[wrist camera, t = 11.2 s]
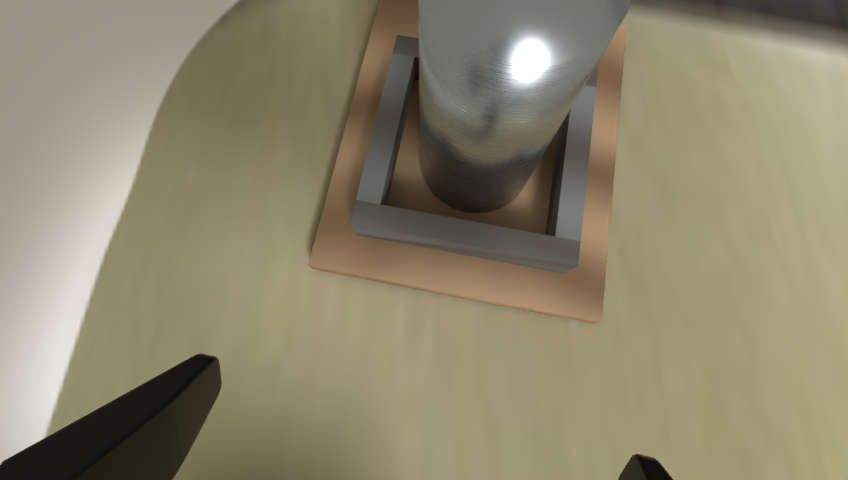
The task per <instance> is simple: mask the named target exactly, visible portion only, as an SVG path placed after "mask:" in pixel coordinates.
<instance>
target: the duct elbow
mask: <svg viewBox="0 0 848 480" xmlns="http://www.w3.org/2000/svg"><path fill="white" fill-rule="evenodd" d="M630 3H631V0H418V23H419V92H420V161H421V171H422V175H423V178H424V180H425V182H426V185H427V186H428V188H429V189H430V191H431V192H432V193H433V194H434V195H435V196H436V197H437V198H438V199H439V200H440V201H442V202H443V203H444V204H446V205H448V206H450V207H451V208H454V209H456V210H459V211H463V212H468V213H486V212H491V211H495V210H498V209H500V208H502V207H504V206H506V205H508V204H509V203H510V202H512V201H513V200H514V199H515V198H516V197H517V196H518V195H519V194H520V193H521V191H522V190H523V188H524V187H525V185H526V183H527V182H528V180H529V178H530V177H531V175H532V173H533V171H534V170H535V168H536V166H537V165H538V163H539V161H540V160H541V158H542V156H543V155H544V153H545V151H546V149H547V148H548V146H549V144H550V143H551V141H552V139H553V138H554V136H555V134H556V133H557V131H558V129H559V128H560V126H561V124H562V122H563V121H564V119H565V117H566V116H567V114H568V112H569V111H570V109H571V107H572V106H573V104H574V102H575V100H576V99H577V97H578V95H579V94H580V92H581V90H582V89H583V87H584V85H585V84H586V82H587V80H588V79H589V77H590V75H591V73H592V72H593V70H594V68H595V67H596V65H597V63H598V62H599V60H600V58H601V57H602V55H603V53H604V52H605V50H606V48H607V46H608V45H609V43H610V41H611V40H612V38H613V36H614V35H615V33H616V31H617V30H618V28H619V26H620V24H621V23H622V21H623V19H624V17H625V15H626V14H627V12H628V9H629V6H630Z"/></svg>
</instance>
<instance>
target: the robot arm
mask: <svg viewBox="0 0 848 480" xmlns="http://www.w3.org/2000/svg"><path fill="white" fill-rule="evenodd" d="M221 384H222V382H221V373H220V364H219V360H218V358H217V357H215V356H210V355H206V354H197V355H195V356H193V357H191V358H189V359H187V360H186V361H184V362H182V363H180V364H178V365H177V366H175V367H173V368H171V369H169V370H167V371H166V372H164V373H162V374H160V375H158V376H157V377H155V378H153V379H151V380H149V381H148V382H146V383H144V384H142V385H140V386H138V387H137V388H135V389H133V390H131V391H129V392H128V393H126V394H124V395H122V396H120V397H119V398H117V399H115V400H113V401H111V402H109V403H108V404H106V405H104V406H102V407H100V408H99V409H97V410H95V411H93V412H91V413H90V414H88V415H86V416H84V417H82V418H81V419H79V420H77V421H75V422H73V423H71V424H70V425H68V426H66V427H64V428H62V429H61V430H59V431H57V432H55V433H53V434H52V435H50V436H48V437H46V438H44V439H42V440H41V441H39V442H37V443H35V444H33V445H32V446H30V447H28V448H26V449H24V450H23V451H21V452H19V453H17V454H15V455H14V456H12V457H10V458H8V459H6V460H5V461H3V462H2V463H1V465H0V480H172V479H173V477H174V476H175V474H176V473H177V471H178V470H179V468H180V466H181V465H182V463H183V462H184V460H185V458H186V456H187V454H188V452H189V451H190V449H191V447H192V445H193V443H194V441H195V439H196V437H197V435H198V433H199V431H200V429H201V428H202V426H203V424H204V422H205V420H206V418H207V416H208V414H209V412H210V410H211V408H212V406H213V404H214V402H215V400H216V399H217V397H218V395H219V392H220V389H221ZM618 480H673V479H672V477H671V476H670V475H669V474H668V472H667V471H666V470H665V469H664V467H663V466H662V465H661V464H660V463H659V462H658V461H657V460H656V459H655V458H652V457H649V456H644V455H640V454H635V455H633V456H632V457H631V458H630V460H629V462H628V463H627V465H626V466H625V468H624V470H623V471H622V473H621V474H620V476H619V479H618Z"/></svg>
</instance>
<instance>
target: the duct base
mask: <svg viewBox="0 0 848 480" xmlns="http://www.w3.org/2000/svg"><path fill="white" fill-rule="evenodd" d="M626 26H627V24H623V23H621V24H620V26H619V28H618V30H617V31H616V33H615V35H614V36H613V38H612V40H611V41H610V43H609V45H608V46H607V48H606V50H605V52H604V53H603V55H602V57H601V58H600V60H599V62H598V63H597V65H596V67H595V68H594V70H593V72H592V73H591V75H590V77H589V79H588V80H587V82H586V84H585V85H584V87H583V89H582V90H581V92H580V94H579V95H578V97H577V99H576V100H575V102H574V104H573V106H572V107H571V109H570V111H569V112H568V114H567V116H566V117H565V119H564V121H563V122H562V124H561V126H560V128H559V129H558V131H557V133H556V134H555V136H554V138H553V139H552V141H551V143H550V144H549V146H548V148H547V149H546V151H545V153H544V155H543V156H542V158H541V160H540V161H539V163H538V165H537V166H536V168H535V170H534V171H533V173H532V175H531V177H530V178H529V180H528V182H527V183H526V185H525V187H524V188H523V190H522V191H521V193H520V194H519V195H518V196H517V197H516V198H515V199H514V200H513V201H512V202H510V203H509V204H508V205H506V206H504V207H502V208H500V209H498V210H495V211H491V212H486V213H468V212H463V211H459V210H456V209H454V208H451V207H450V206H448V205H446V204H444V203H443V202H442V201H440V200H439V199H438V198H437V197H436V196H435V195H434V194H433V193H432V192H431V191H430V189H429V188H428V186H427V185H426V182H425V180H424V178H423V175H422V171H421V161H420V92H419V23H418V0H379V4H378V7H377V11H376V15H375V18H374V22H373V26H372V29H371V33H370V37H369V41H368V44H367V48H366V52H365V55H364V59H363V63H362V67H361V70H360V74H359V78H358V81H357V85H356V89H355V92H354V96H353V100H352V104H351V107H350V111H349V115H348V118H347V122H346V126H345V130H344V133H343V137H342V141H341V144H340V148H339V152H338V155H337V159H336V163H335V167H334V170H333V174H332V178H331V181H330V185H329V189H328V193H327V196H326V200H325V204H324V207H323V211H322V215H321V218H320V222H319V226H318V230H317V233H316V237H315V241H314V244H313V248H312V252H311V256H310V259H309V263H308V266H310V267H311V268H312V269H316V270H321V271H326V272H331V273H336V274H341V275H347V276H352V277H357V278H362V279H367V280H373V281H378V282H383V283H388V284H393V285H398V286H404V287H409V288H414V289H419V290H424V291H429V292H435V293H440V294H445V295H450V296H455V297H461V298H466V299H471V300H476V301H481V302H486V303H492V304H497V305H502V306H507V307H512V308H518V309H523V310H528V311H533V312H538V313H543V314H549V315H554V316H559V317H564V318H569V319H575V320H580V321H585V322H590V323H598V322H602V311H603V299H604V287H605V275H606V263H607V252H608V240H609V228H610V216H611V204H612V192H613V180H614V168H615V157H616V145H617V133H618V121H619V109H620V97H621V85H622V73H623V62H624V50H625V38H626Z"/></svg>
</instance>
